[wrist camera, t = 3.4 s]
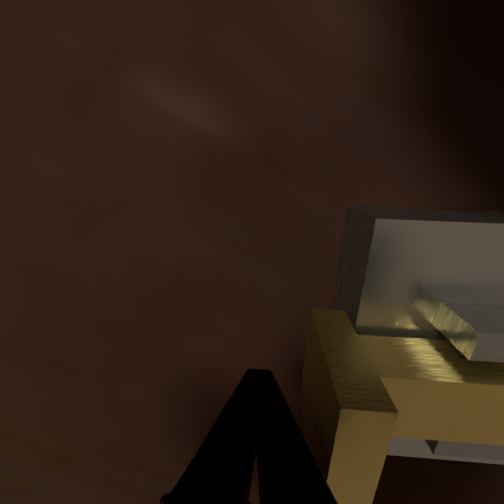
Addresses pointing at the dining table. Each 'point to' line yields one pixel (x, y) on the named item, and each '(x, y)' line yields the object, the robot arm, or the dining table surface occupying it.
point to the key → (388, 400)
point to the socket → (427, 292)
